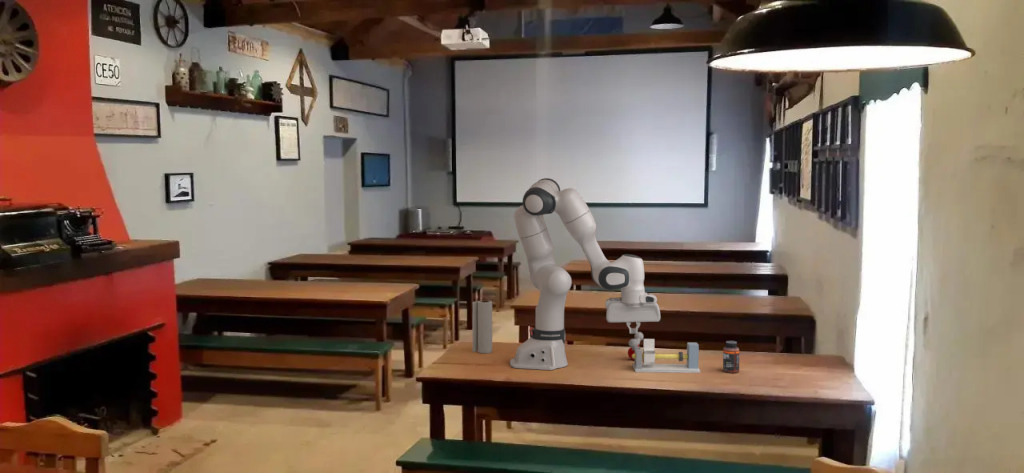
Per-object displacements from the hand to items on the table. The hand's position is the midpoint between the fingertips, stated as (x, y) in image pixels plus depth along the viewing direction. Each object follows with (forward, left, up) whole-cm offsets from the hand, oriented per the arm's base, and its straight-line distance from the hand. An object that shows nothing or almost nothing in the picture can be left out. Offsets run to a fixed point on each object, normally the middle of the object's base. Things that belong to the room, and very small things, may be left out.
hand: (633, 333), depth 299 cm
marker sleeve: (+6, 0, -11) cm, 13 cm away
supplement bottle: (+36, -2, -14) cm, 39 cm away
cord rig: (+12, 0, -14) cm, 19 cm away
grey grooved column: (-59, +26, -14) cm, 66 cm away
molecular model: (+2, +15, -14) cm, 21 cm away
